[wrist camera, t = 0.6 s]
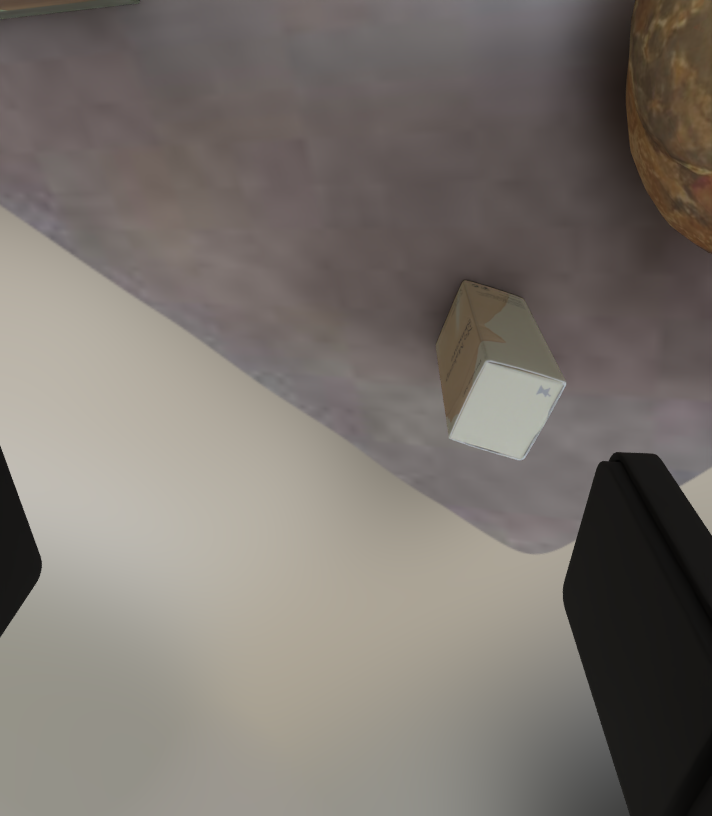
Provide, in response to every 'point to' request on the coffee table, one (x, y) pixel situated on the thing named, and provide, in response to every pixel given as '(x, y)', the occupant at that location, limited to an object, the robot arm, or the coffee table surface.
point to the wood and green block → (53, 6)
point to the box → (495, 372)
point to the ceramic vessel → (673, 110)
